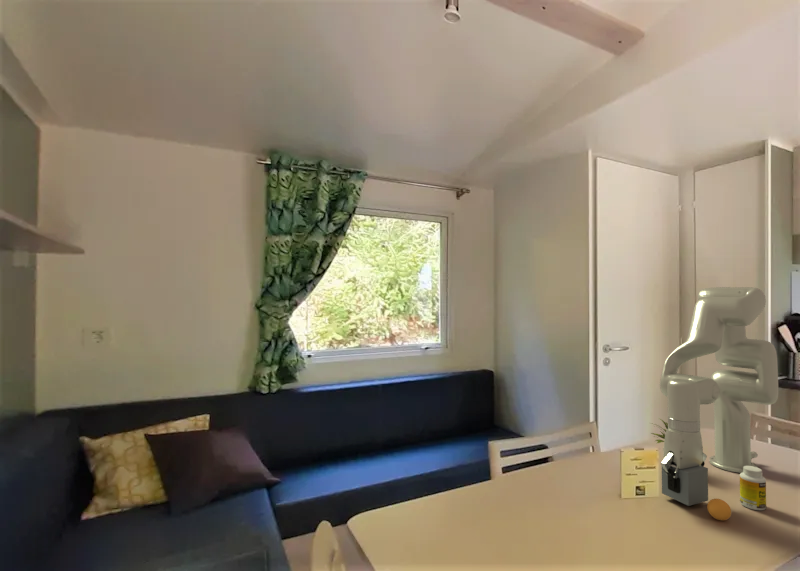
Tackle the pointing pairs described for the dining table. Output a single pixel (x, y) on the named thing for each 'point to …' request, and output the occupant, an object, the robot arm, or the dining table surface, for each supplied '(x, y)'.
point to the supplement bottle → (752, 488)
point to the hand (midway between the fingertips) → (684, 488)
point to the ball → (719, 509)
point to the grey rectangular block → (688, 485)
